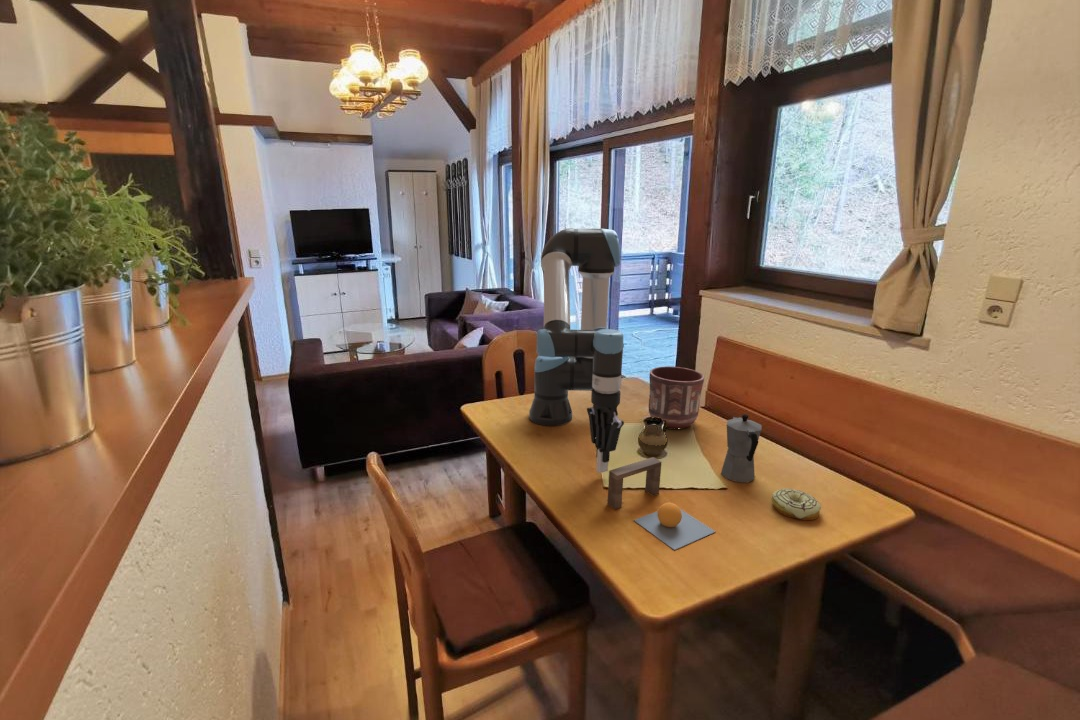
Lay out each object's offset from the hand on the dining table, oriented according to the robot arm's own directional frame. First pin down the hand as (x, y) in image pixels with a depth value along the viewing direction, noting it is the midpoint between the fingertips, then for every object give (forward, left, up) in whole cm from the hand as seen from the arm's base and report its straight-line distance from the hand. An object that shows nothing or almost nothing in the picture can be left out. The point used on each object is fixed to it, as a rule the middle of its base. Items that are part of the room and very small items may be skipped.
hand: (602, 470), depth 143 cm
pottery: (-18, +45, -2) cm, 49 cm away
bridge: (+13, 0, -2) cm, 13 cm away
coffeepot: (+19, +33, -2) cm, 38 cm away
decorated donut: (+37, +31, -2) cm, 48 cm away
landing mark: (+27, 0, -2) cm, 27 cm away
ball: (+26, -1, +1) cm, 26 cm away
